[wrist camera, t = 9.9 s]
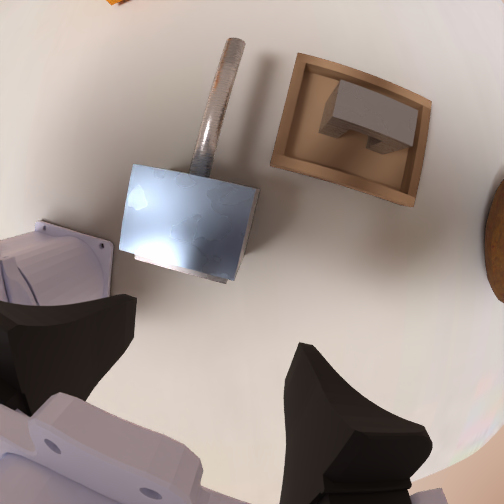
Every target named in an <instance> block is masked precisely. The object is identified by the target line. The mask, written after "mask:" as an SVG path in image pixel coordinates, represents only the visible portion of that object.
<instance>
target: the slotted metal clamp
mask: <svg viewBox="0 0 504 504" xmlns="http://www.w3.org/2000/svg"><path fill="white" fill-rule="evenodd" d="M417 116H418V110H416V109H414V108H412V107H410V106H408V105H405V104H403V103H401V102H399V101H396V100H394V99H392V98H389V97H387V96H384V95H382V94H379V93H377V92H374V91H372V90H369V89H367V88H364V87H361V86H358V85H356V84H353V83H350V82H347V81H344V80H340V81H339V83H338V84H337V86H336V87H335V89H334V90H333V92H332V93H331V95H330V97H329V98H328V100H327V101H326V103H325V107H324V111H323V116H322V120H321V124H320V128H319V132H318V133H321V134H324V135H327V136H331V137H334V138H339V137H340V136H341V135H343V134H344V133H345V132H347V131H348V130H349V129H351V130H354V131H357V132H360V133H363V134H365V135H368V140H367V145H366V149H369V150H372V151H374V152H377V153H380V154H382V155H383V154H387V153H390V152H394V151H398V150H401V149H405V148H409V147H412V146H413V141H414V135H415V129H416V123H417Z"/></svg>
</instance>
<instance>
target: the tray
mask: <svg viewBox="0 0 504 504" xmlns="http://www.w3.org/2000/svg"><path fill="white" fill-rule="evenodd" d="M340 80H344V81H347V82H350V83H353V84H356V85H358V86H361V87H364V88H367V89H369V90H372V91H374V92H377V93H379V94H382V95H384V96H387V97H389V98H392V99H394V100H396V101H399V102H401V103H403V104H405V105H408V106H410V107H412V108H414V109H416V110H418V116H417V123H416V129H415V135H414V141H413V146H412V147H409V148H405V149H401V150H398V151H394V152H390V153H387V154H383V155H382V154H380V153H377V152H374V151H372V150H369V149H366V145H367V140H368V135H365V134H363V133H360V132H357V131H354V130H351V129H349V130H348V131H347V132H345V133H344V134H343V135H341V136H340V137H339V138H334V137H331V136H327V135H324V134H321V133H318V132H319V128H320V124H321V120H322V116H323V111H324V107H325V103H326V101H327V100H328V98H329V97H330V95H331V93H332V92H333V90H334V89H335V87H336V86H337V84H338V83H339V81H340ZM431 103H432V101H430V100H428V99H426V98H424V97H422V96H420V95H418V94H416V93H413V92H411V91H409V90H407V89H405V88H402V87H400V86H398V85H395V84H393V83H391V82H388V81H386V80H383V79H381V78H378V77H376V76H373V75H370V74H368V73H365V72H362V71H359V70H356V69H353V68H351V67H347V66H344V65H341V64H338V63H335V62H331V61H328V60H325V59H321V58H317V57H314V56H310V55H306V54H302V53H298V54H297V58H296V62H295V66H294V70H293V74H292V78H291V82H290V86H289V90H288V94H287V98H286V102H285V106H284V110H283V114H282V118H281V122H280V126H279V130H278V134H277V138H276V142H275V146H274V150H273V154H272V158H271V162H270V166H272V167H276V168H280V169H284V170H288V171H292V172H296V173H299V174H303V175H307V176H310V177H314V178H318V179H321V180H325V181H328V182H331V183H335V184H338V185H341V186H345V187H348V188H351V189H354V190H358V191H361V192H364V193H367V194H370V195H373V196H376V197H379V198H382V199H385V200H388V201H391V202H393V203H396V204H399V205H403V206H409V207H413V206H414V202H415V198H416V194H417V189H418V185H419V180H420V175H421V170H422V165H423V160H424V154H425V148H426V142H427V135H428V128H429V121H430V112H431Z"/></svg>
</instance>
